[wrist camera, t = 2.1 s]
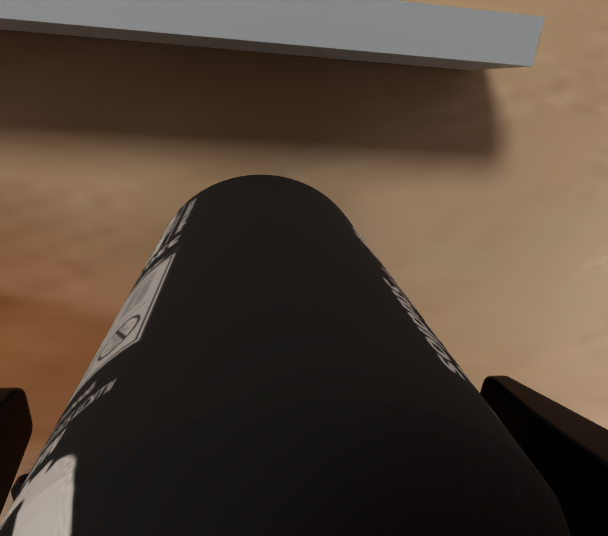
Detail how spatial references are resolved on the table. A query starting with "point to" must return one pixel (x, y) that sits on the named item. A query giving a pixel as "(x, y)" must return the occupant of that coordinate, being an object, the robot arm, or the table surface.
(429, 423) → the beverage can
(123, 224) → the table surface
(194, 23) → the low wall
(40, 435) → the table surface
